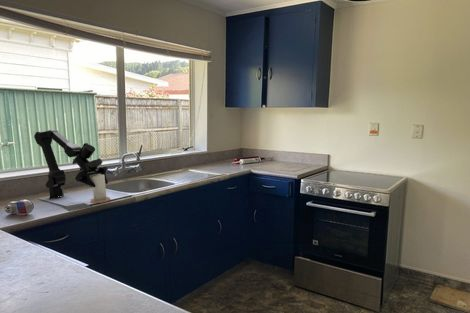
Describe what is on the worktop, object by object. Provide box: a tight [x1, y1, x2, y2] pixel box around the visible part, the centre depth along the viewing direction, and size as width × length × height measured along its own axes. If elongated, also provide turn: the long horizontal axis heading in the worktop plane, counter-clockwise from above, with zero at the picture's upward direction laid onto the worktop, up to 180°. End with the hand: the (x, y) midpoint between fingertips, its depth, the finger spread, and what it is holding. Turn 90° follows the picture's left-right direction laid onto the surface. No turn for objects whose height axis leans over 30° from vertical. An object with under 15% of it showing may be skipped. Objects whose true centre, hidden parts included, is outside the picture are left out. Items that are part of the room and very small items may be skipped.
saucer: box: [90, 196, 111, 204], centre depth 185 cm, size 10×10×1 cm
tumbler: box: [91, 174, 107, 201], centre depth 184 cm, size 6×6×13 cm
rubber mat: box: [61, 202, 92, 212], centre depth 173 cm, size 11×11×1 cm
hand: (101, 185), depth 183 cm, fingers open, 9 cm apart
